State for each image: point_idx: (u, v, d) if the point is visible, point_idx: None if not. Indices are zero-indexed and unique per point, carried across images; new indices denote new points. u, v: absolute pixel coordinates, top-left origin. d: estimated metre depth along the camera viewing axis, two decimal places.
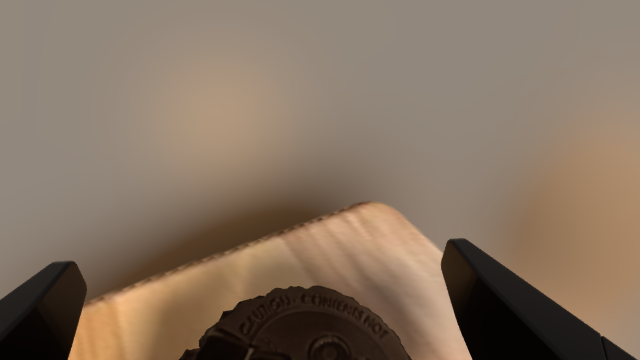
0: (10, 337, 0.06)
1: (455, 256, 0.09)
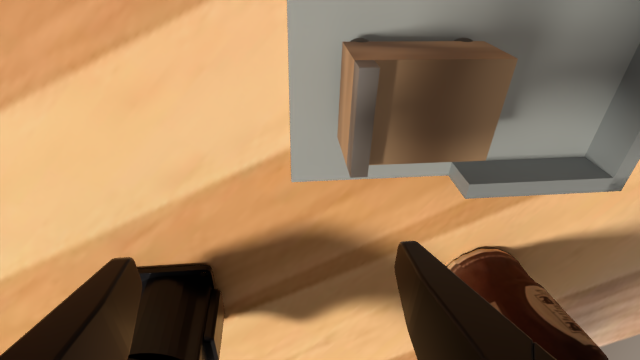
0: (87, 331, 0.07)
1: (404, 259, 0.09)
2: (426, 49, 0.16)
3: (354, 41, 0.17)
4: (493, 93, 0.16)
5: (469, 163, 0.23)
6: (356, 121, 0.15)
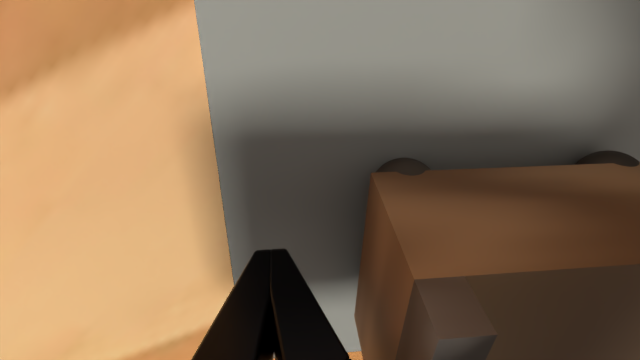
0: (266, 317, 0.07)
1: None
2: (566, 206, 0.07)
3: (396, 172, 0.08)
4: None
5: None
6: None
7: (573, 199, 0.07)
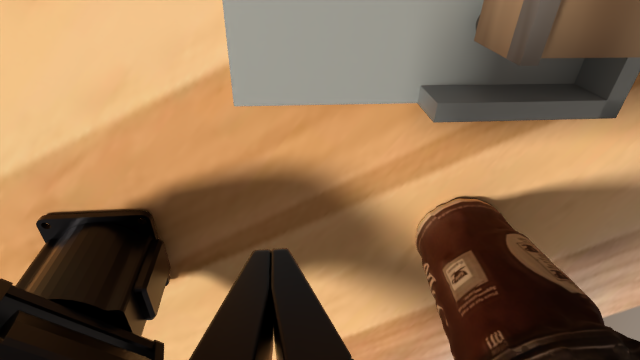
0: (264, 318, 0.07)
1: None
2: None
3: None
4: None
5: (440, 86, 0.20)
6: None
7: None
